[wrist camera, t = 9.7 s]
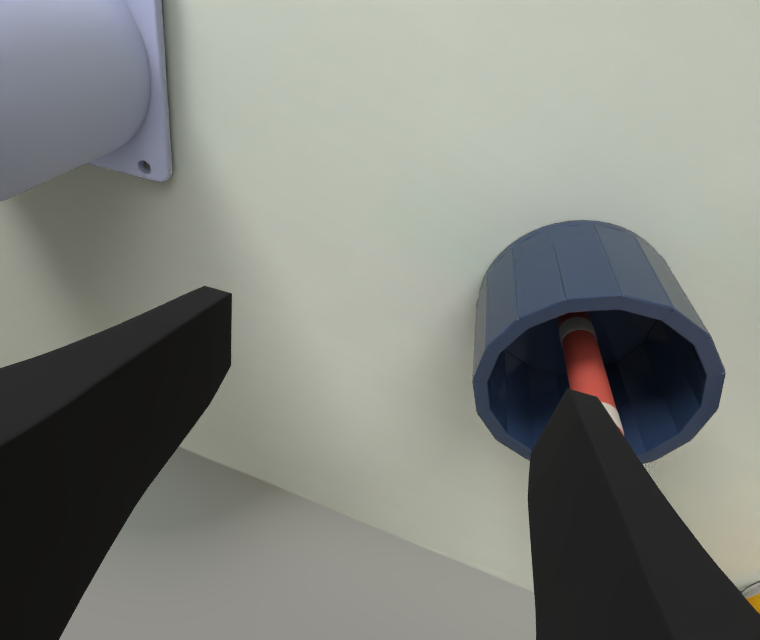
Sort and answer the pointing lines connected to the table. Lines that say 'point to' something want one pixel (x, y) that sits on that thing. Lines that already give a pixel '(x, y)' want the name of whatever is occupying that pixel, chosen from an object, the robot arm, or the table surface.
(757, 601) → the beer can
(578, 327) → the baton
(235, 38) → the table surface
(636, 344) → the cup
